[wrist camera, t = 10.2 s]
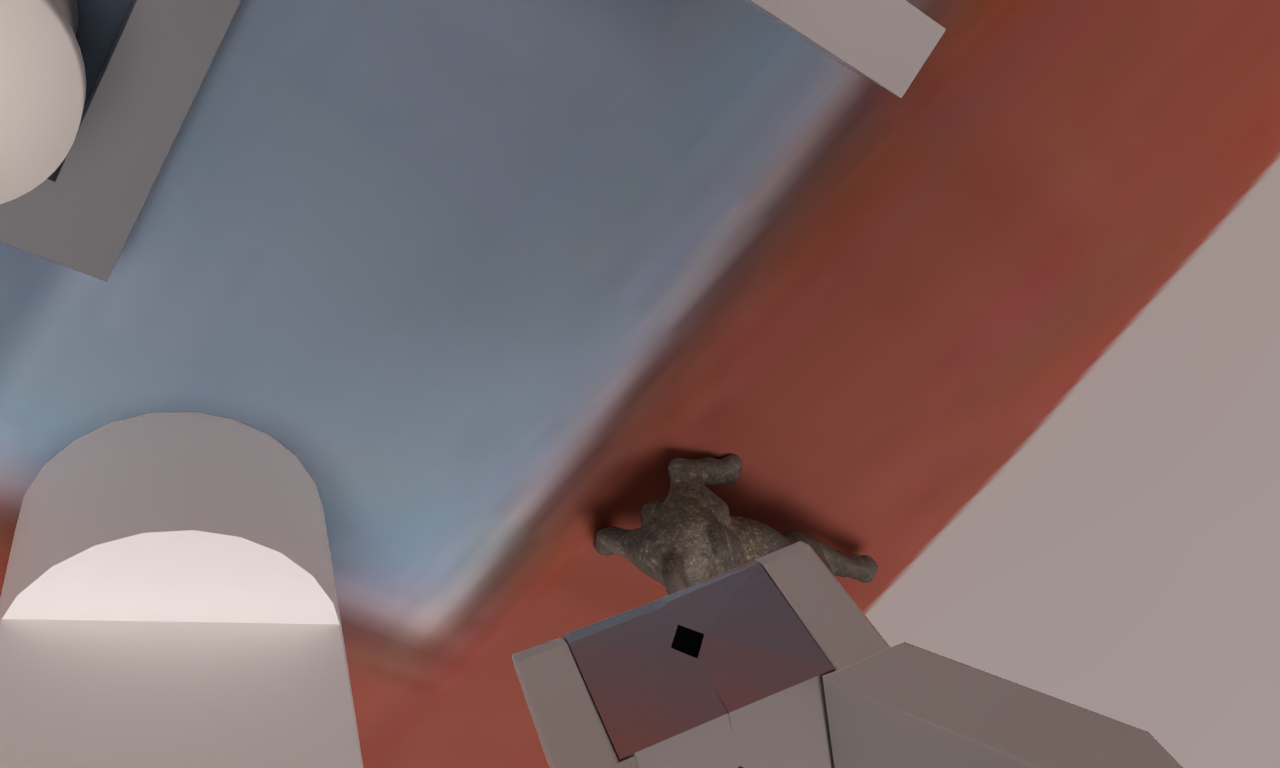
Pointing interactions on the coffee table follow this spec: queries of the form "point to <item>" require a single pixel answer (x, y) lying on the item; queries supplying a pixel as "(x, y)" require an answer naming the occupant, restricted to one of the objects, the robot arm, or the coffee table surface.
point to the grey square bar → (862, 35)
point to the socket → (120, 136)
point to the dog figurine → (708, 532)
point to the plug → (37, 91)
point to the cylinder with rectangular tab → (173, 607)
